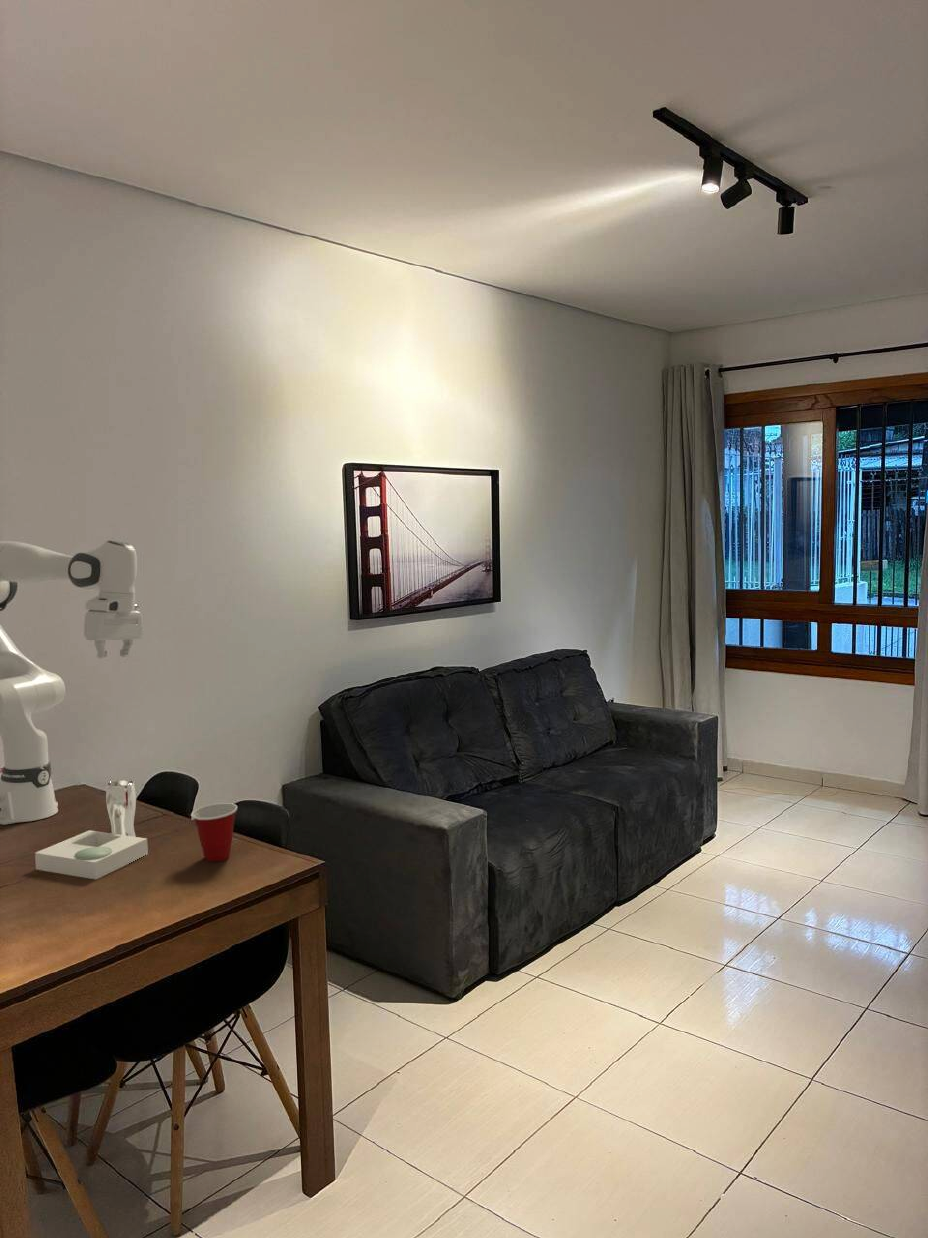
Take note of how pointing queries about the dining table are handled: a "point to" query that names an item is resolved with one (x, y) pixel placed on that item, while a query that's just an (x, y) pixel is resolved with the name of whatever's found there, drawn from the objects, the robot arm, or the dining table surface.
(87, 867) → the pale board
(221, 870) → the dining table surface
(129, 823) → the beer glass
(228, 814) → the plastic cup
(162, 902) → the dining table surface
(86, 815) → the dining table surface
